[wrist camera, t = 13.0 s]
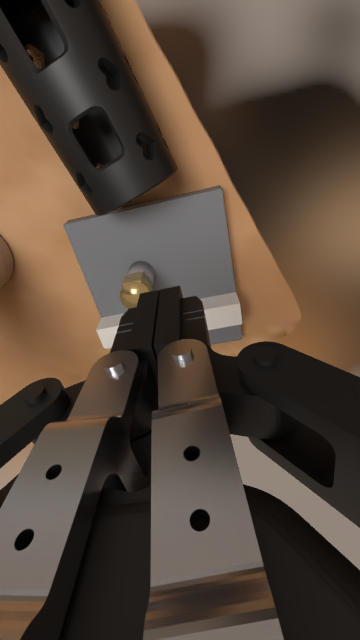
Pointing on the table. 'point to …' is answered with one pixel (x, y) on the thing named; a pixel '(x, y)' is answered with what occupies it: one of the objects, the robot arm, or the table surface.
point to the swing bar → (134, 288)
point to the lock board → (161, 257)
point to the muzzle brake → (84, 98)
